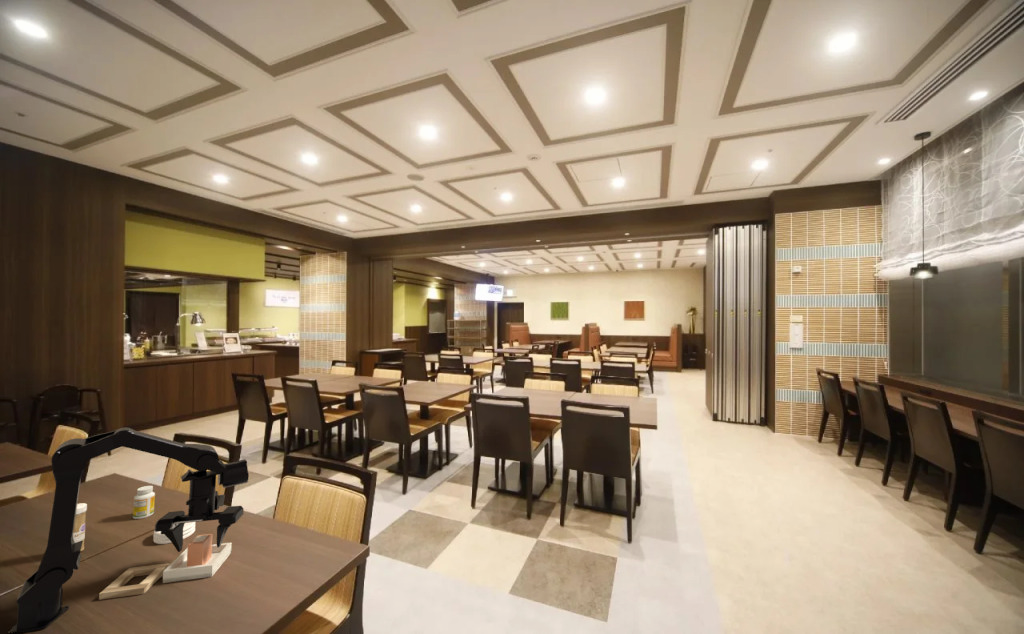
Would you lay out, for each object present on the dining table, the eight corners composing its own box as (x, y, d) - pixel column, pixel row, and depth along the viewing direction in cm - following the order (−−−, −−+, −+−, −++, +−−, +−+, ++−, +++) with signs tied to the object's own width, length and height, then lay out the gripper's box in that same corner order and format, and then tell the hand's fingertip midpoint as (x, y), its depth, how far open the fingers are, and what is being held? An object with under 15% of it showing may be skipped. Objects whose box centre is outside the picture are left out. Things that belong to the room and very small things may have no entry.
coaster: (201, 532, 121) (202, 521, 121) (163, 548, 112) (163, 536, 112) (185, 525, 125) (185, 514, 125) (146, 540, 116) (147, 528, 116)
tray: (211, 576, 100) (212, 565, 100) (162, 583, 97) (163, 571, 97) (231, 552, 110) (231, 542, 110) (187, 557, 107) (187, 547, 108)
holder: (143, 593, 93) (144, 587, 93) (99, 599, 91) (99, 593, 91) (169, 568, 103) (169, 563, 103) (129, 573, 100) (129, 567, 100)
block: (201, 567, 102) (202, 542, 102) (186, 569, 101) (187, 543, 101) (211, 557, 107) (212, 532, 107) (196, 558, 106) (198, 533, 106)
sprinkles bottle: (80, 554, 108) (83, 507, 109) (57, 559, 106) (60, 511, 106) (87, 546, 112) (89, 501, 113) (64, 550, 110) (67, 504, 110)
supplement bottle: (138, 520, 127) (139, 492, 127) (129, 517, 129) (130, 489, 129) (157, 513, 132) (158, 486, 132) (148, 510, 134) (149, 483, 134)
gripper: (252, 478, 114) (250, 529, 114) (180, 483, 110) (177, 537, 109) (235, 494, 104) (233, 550, 103) (155, 500, 99) (151, 560, 98)
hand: (199, 548), depth 104 cm, fingers open, 9 cm apart
